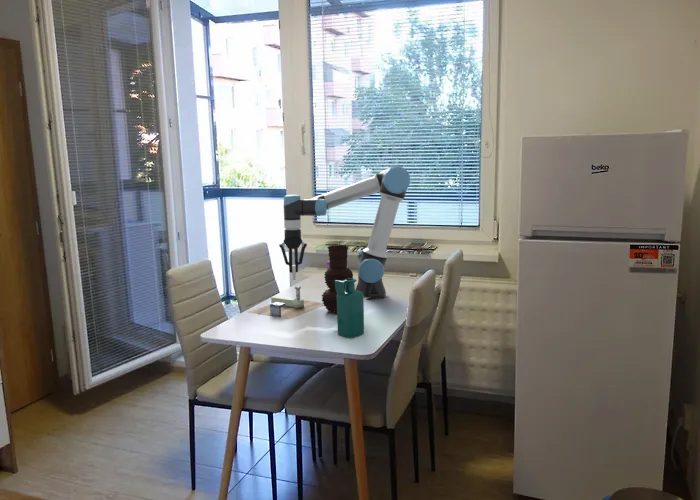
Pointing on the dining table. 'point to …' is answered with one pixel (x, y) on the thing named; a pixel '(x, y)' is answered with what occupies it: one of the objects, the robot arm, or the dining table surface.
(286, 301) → the link
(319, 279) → the dining table surface
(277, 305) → the block
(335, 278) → the vase
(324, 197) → the robot arm
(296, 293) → the peg
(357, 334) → the green bottle
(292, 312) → the board
